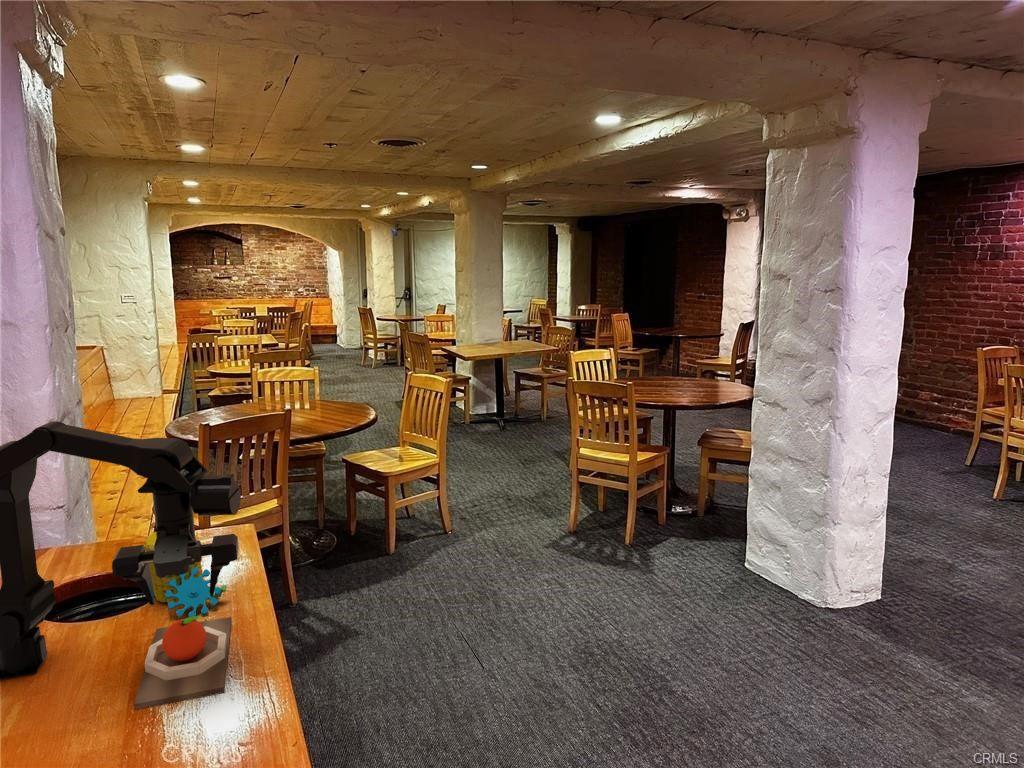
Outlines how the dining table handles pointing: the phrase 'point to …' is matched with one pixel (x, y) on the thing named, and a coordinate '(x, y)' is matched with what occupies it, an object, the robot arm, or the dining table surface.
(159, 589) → the food
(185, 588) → the blue knobbed toy
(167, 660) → the board
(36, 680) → the dining table surface
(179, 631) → the clementine
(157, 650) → the seat ring
